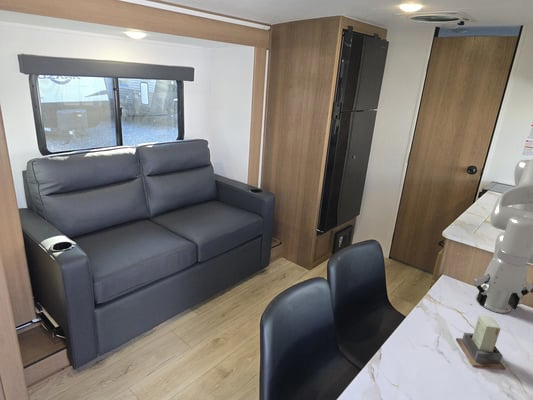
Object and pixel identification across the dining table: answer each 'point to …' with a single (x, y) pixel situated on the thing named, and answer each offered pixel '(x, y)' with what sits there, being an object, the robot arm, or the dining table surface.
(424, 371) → the dining table surface
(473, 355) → the sleeve stand
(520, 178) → the robot arm
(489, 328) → the skincare box
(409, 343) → the dining table surface
